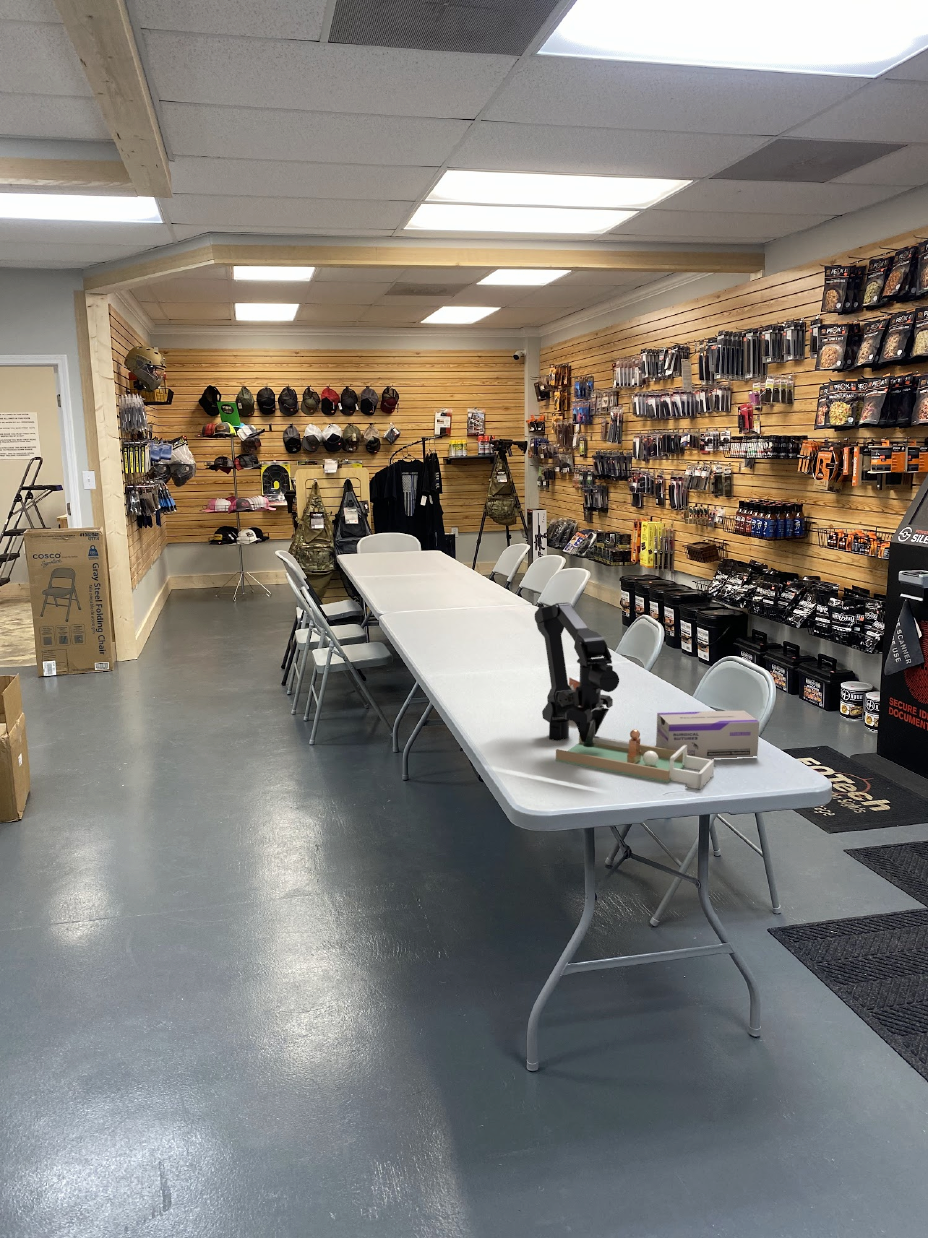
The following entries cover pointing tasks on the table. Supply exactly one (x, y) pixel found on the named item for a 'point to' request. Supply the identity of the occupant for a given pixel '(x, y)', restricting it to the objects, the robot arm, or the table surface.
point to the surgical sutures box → (709, 733)
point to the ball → (650, 758)
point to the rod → (617, 743)
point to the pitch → (621, 760)
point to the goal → (695, 763)
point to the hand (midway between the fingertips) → (588, 738)
